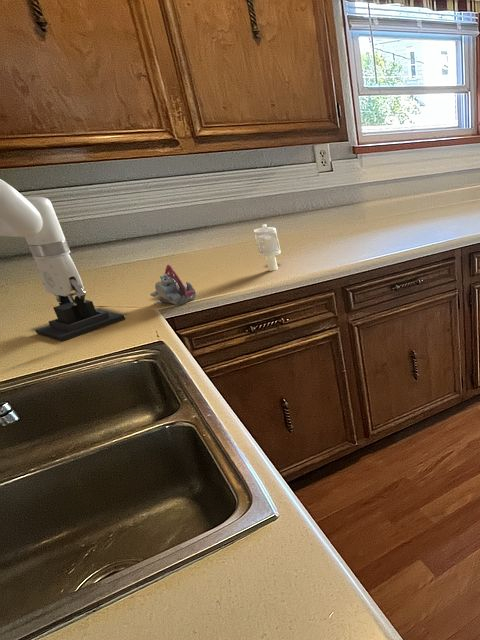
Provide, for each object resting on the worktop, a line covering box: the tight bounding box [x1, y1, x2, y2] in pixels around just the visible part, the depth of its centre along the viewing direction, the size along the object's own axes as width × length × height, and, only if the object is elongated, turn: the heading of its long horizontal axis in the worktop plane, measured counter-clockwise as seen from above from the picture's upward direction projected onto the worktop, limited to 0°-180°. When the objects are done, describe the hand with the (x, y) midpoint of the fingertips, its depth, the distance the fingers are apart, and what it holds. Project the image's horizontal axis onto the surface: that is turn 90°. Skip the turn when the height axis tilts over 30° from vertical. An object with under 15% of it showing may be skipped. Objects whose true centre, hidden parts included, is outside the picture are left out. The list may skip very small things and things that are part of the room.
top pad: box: [53, 299, 97, 324], centre depth 136 cm, size 7×5×4 cm
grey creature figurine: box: [149, 264, 197, 306], centre depth 151 cm, size 11×11×12 cm
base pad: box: [34, 308, 126, 342], centre depth 138 cm, size 16×12×3 cm
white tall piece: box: [253, 223, 282, 272], centre depth 177 cm, size 7×7×15 cm
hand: (77, 316), depth 137 cm, fingers closed on top pad, 5 cm apart
